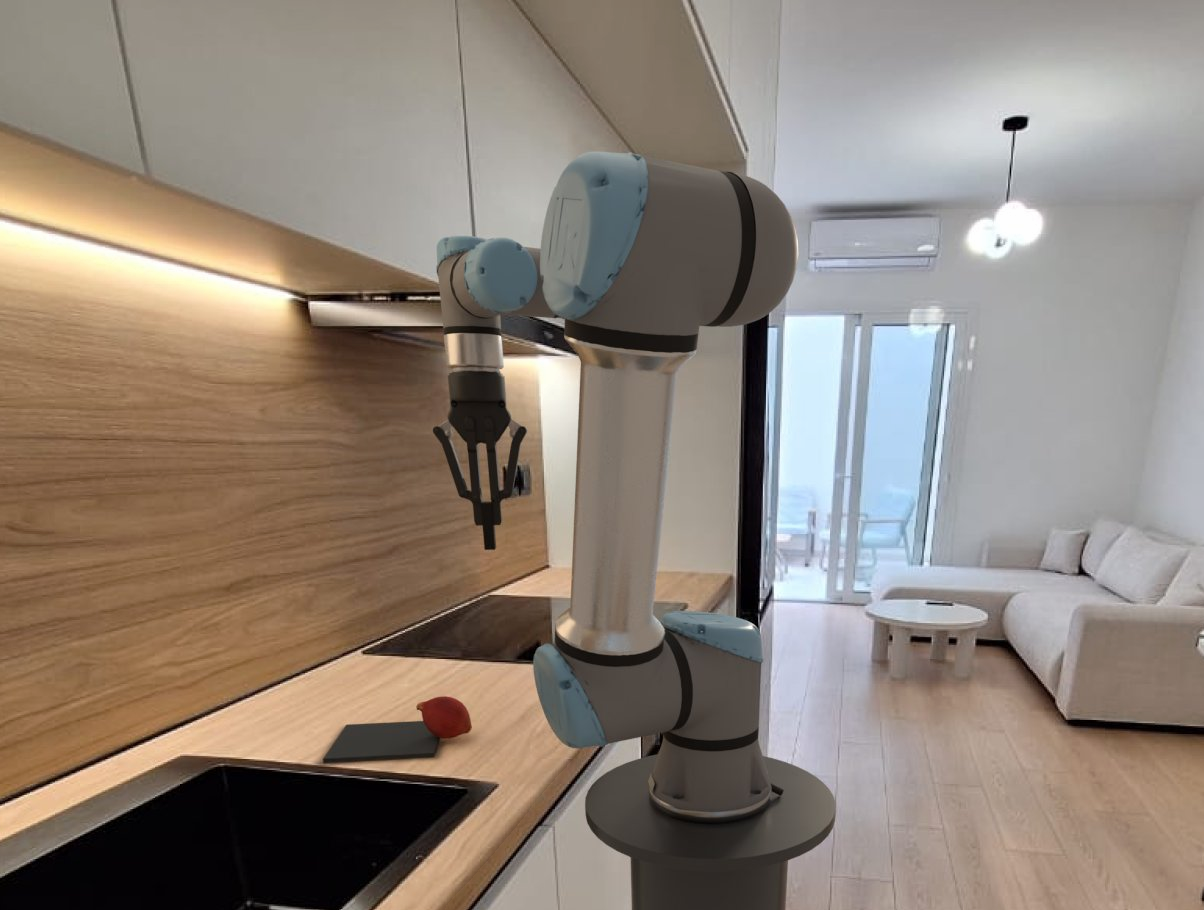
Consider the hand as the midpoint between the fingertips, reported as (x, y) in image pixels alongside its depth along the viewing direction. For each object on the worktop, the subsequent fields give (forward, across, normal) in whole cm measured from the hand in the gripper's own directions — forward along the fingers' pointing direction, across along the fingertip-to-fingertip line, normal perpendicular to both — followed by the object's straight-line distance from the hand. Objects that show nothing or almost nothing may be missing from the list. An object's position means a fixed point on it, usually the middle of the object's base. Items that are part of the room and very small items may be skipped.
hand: (490, 548), depth 118 cm
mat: (+24, +15, +13) cm, 31 cm away
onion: (+23, +4, +13) cm, 27 cm away
